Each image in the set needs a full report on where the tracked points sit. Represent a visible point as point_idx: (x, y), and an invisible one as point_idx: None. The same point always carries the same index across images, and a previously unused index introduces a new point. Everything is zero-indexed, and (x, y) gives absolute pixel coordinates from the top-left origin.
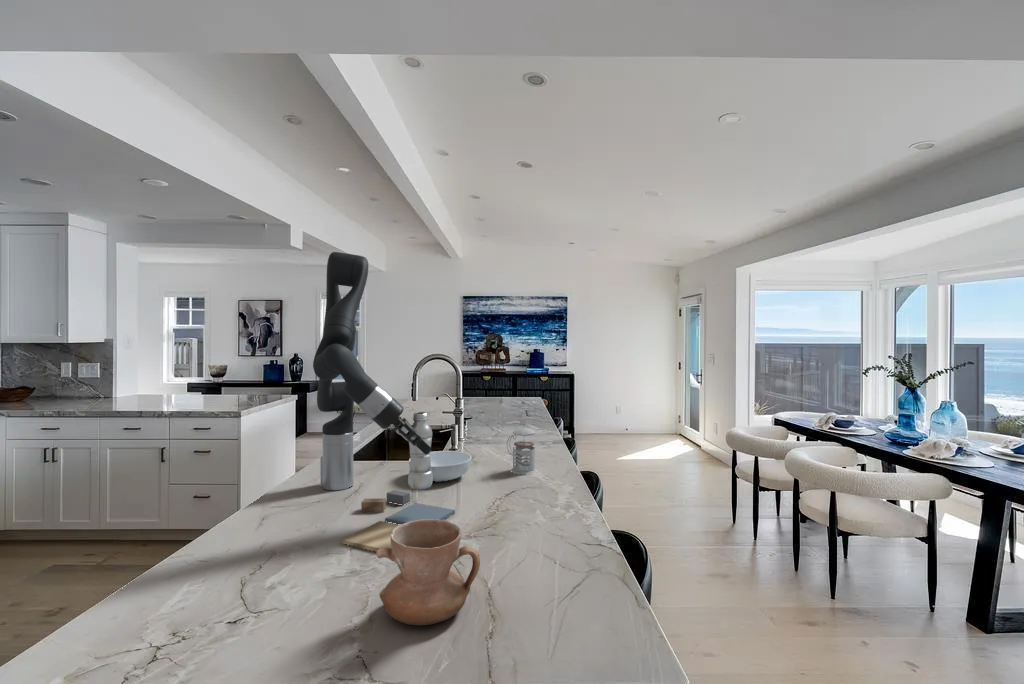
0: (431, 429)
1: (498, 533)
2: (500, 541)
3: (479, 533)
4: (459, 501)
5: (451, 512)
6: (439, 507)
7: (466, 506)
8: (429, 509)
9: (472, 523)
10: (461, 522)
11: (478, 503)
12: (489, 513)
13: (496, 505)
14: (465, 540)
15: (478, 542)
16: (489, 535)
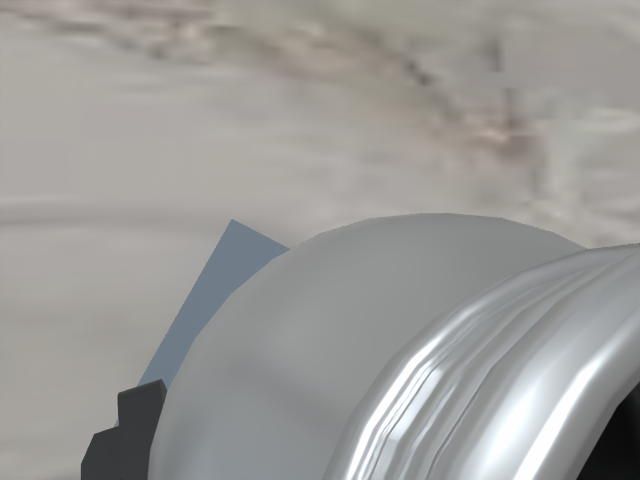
0: (421, 215)
1: (478, 31)
2: (554, 29)
3: (481, 105)
4: (23, 211)
5: (264, 236)
6: (185, 310)
7: (119, 168)
8: None
9: (368, 134)
10: (355, 185)
11: (74, 105)
12: (237, 55)
13: (118, 17)
14: (556, 161)
15: (570, 110)
16: (500, 66)
